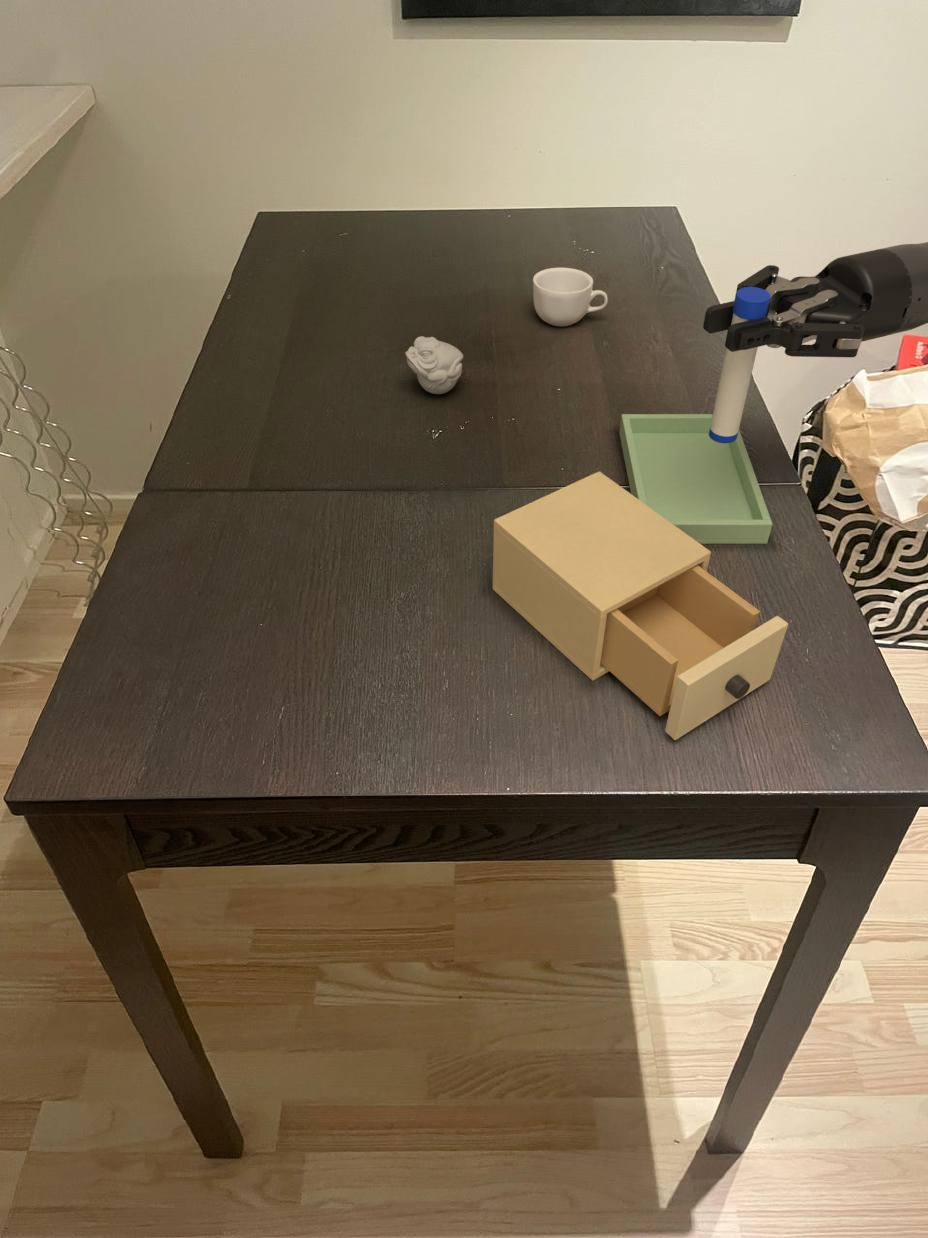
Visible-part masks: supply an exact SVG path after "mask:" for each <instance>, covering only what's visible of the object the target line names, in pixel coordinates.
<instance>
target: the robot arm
mask: <svg viewBox="0 0 928 1238" xmlns="http://www.w3.org/2000/svg"><path fill="white" fill-rule="evenodd" d="M779 271H780V267H779V266H777V265H775V264H773V265H772V264H769V265H766V266H764V267H763V268H761V269H760V270H758V271H757V272H755V273H753V274H752V275H750V276H748V277H747V278H746V279H743V281H741V282H739V283H738V284H737V287H736V290H735V296H734V298H735V297H736V293H737V291H738V290H739V289H741V288H744V287H757V288H761V289H764V290H766V291H767V292H769V294H770V296H771V297H770V302H769V306H768V310H767V314H766V316H765V317H763V318H760V319H754V320H749V321H745V322H740V323H736V324H733V325H731V323H732V318H733V313H734V312H733V307H734V302H735V299H734V300H731V301H728V302H723V303H719V304H713V305H711V306H709V307H708V308H707V309H706V311H705V314H704V319H703V324H702V325H703V326H702V328H703V330H704V331H706V332H707V334H709V335H711V334H715V333H720V332H725V331H727V332H726V336H725V342H724V347H725V348H727V349H728V350H730V351H731V352H735V351H739V350H747V349H751V348H755V347H758V348H760V347H764V346H767V347H769V348H771V349H779V348H781V347H782V348H784V354H785V355H786V356H789V357H796V358H798V357H799V358H800V357H802V358H803V357H804V358H855V357H857V355H858V352H859V349H860V347H861V344H862V343H863V342H866V341H867V342H868V341H871V340H876V339H880V338H884V337H888V336H891V335H896V334H900V333H904V332H908V331H912V330H914V329H916V328H919V327H921V326H924V325H926V324H928V241H924V242H921V243H919V242H918V243H902V244H896V245H892V246H891V245H890V246H887V247H883V248H876V249H871V250H869V251H868V250H867V251H864V252H859V253H853V254H850V255H845V256H840V257H836V258H835V259H833V260H831V261H830V262H829V263H828V264H827V265H826V266H824V268H823V269H822V270H821V271H820V272H818V273H817V274H816V275H813V276H802V275H801V276H795V277H793V278H792V279H788V278H784V277H782V276H779ZM814 340H815V342H814V343H812V344H807V343H808V342H811V341H814Z"/></svg>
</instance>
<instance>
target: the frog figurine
mask: <svg viewBox="0 0 928 1238" xmlns="http://www.w3.org/2000/svg"><path fill="white" fill-rule="evenodd" d="M404 353H405V356H406V363H407V365H408V367H409V368H410V369H411V371H412V372H413V373H415V374H416V378H417V381H418V382H419V385H420V386H421V388H422V389H423V390H425V391H426V392H428V393H430V394H433V395H442V394H446V393H448V392H449V391H451V390H452V389H453V388H454V387H455V386H456V384H457V382H458V380H459V378H460V377H461V376H462V372H463V363H462V361H463V359H464V354H463V353H462V352H461V350H460V349H459V348H457V347H456V346H454V345H452V344H451V343H448V342H444V341H441V340H438V339H437V338H436V337H434V336H430V337H425V336H423V335H421V336H418V337H416V338H415V340H414V342H413V346H410V347H409V348H408V350H407V351H405V352H404Z"/></svg>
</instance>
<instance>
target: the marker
mask: <svg viewBox="0 0 928 1238" xmlns="http://www.w3.org/2000/svg"><path fill="white" fill-rule="evenodd" d="M735 295H736V297H735V296H734V300H735V302H734V307H733V312H734V313H733V318H732V323H731V325H733V324H736V323H740V322H745V321H749V320H754V319H760V318H763V317H765V316H766V314H767V310H768V306H769V302H770V297H771V296H770V294H769V292H767V291H766V290H764V289H761V288H757V287H744V288H741V289H739V290H738V291H737V293H736V292H735ZM725 348H726V347H725ZM758 348H759V347H755V348H751V349H747V350H739V351H735V352H731V351H730V350H728V349H727V348H726V349H725V352H724V358H723V363H722V366H721V367H722V368H721V372H720V377H719V382H718V387H717V392H716V396H715V401H714V407H713V411H712V414H713V416H712V421H711V425H710V429H709V437H710V438H711V439H712V440H714V441H716V442H719V443H732V442H734V441H735V440H736V439H737V436H738V432H739V431H740V426H741V422H742V417H743V414H744V408H745V404H746V401H747V396H748V391H749V387H750V382H751V378H752V375H753V370H754V365H755V360H756V356H757V354H758V353H757V352H758Z"/></svg>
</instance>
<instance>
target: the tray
mask: <svg viewBox="0 0 928 1238" xmlns="http://www.w3.org/2000/svg"><path fill="white" fill-rule="evenodd" d="M712 416H713V413H673V414H672V413H652V414H651V413H621V417H620V424H619V433H618V434H619V439H620V445H621V449H622V454H623V459H624V465H625V470H626V476H627V481H628V485H629V490H630V494H632V495H633V496H634V497H636V498H637V499H639V500H640V501H641V502H643V503H644V504H645V505H647V506H648V507H650V508H651V509H652V510H654V511H655V512H657V513H658V514H659V515H661V516H662V517H663V518H665V519H666V520H668V521H669V522H670V523H672V524H673V525H675V526H676V527H677V528H679V529H680V530H682V531H683V532H684V533H686V534H687V535H688V536H690V537H691V538H693V539H694V540H695V541H697V542H698V543H700V544H701V545H703V544H704V545H706V544H707V545H723V544H725V545H732V544H733V545H748V544H749V545H767V544H768V542H769V539H770V535H771V532H772V528H773V521H772V519H771V516H770V513H769V510H768V508H767V505H766V501H765V499H764V496H763V492H762V490H761V488H760V484H759V482H758V479H757V475H756V474H755V473H756V472H755V471H754V468H753V464H752V462H751V459H750V456H749V454H748V453H749V452H748V451H747V448H746V445H745V442H744V439H743V437H742V434H741V430H739V432H738V436H737V439H736V440H735V441H734V442H732V443H719V442H716V441H714V440H712V439H711V438H710V437H709V429H710V425H711V421H712Z"/></svg>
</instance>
